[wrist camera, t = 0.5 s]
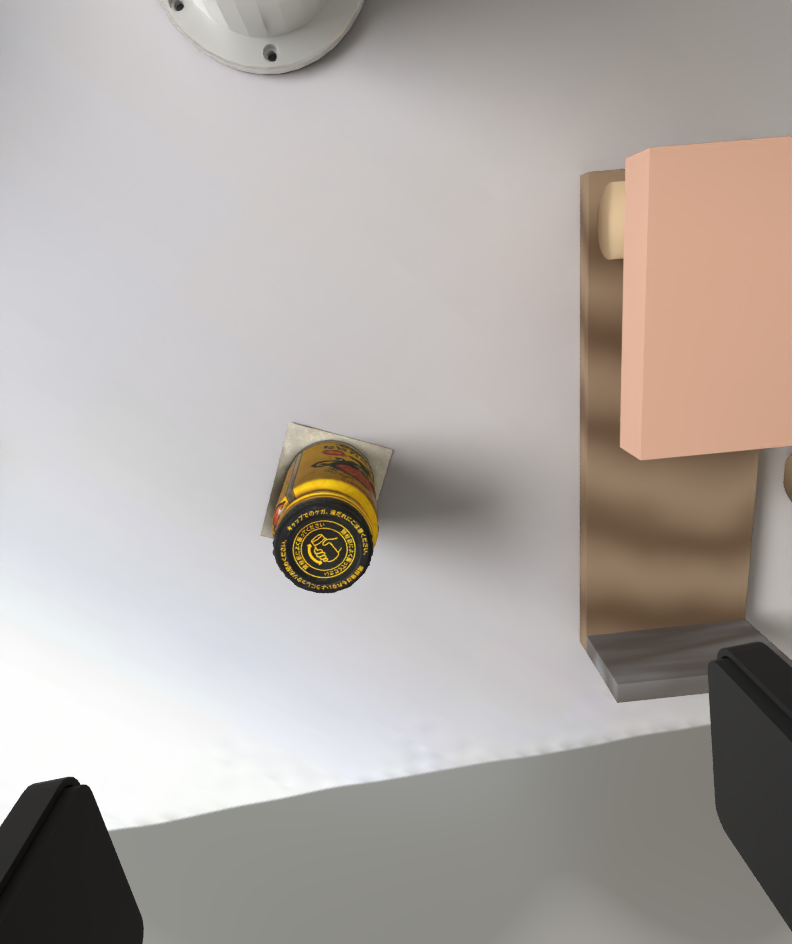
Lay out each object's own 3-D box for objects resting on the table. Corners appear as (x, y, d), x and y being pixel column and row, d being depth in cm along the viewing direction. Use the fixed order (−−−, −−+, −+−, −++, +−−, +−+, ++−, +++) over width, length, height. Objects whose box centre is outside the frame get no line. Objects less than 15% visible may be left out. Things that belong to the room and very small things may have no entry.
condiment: (392, 448, 44) (405, 508, 33) (360, 558, 47) (360, 649, 35) (289, 421, 43) (264, 472, 32) (261, 533, 46) (228, 619, 34)
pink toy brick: (597, 170, 38) (649, 147, 31) (777, 155, 39) (868, 129, 32) (595, 431, 43) (640, 460, 36) (756, 415, 43) (831, 442, 36)
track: (580, 175, 40) (629, 153, 33) (769, 160, 40) (858, 134, 33) (579, 641, 50) (617, 702, 42) (732, 625, 50) (795, 683, 43)
